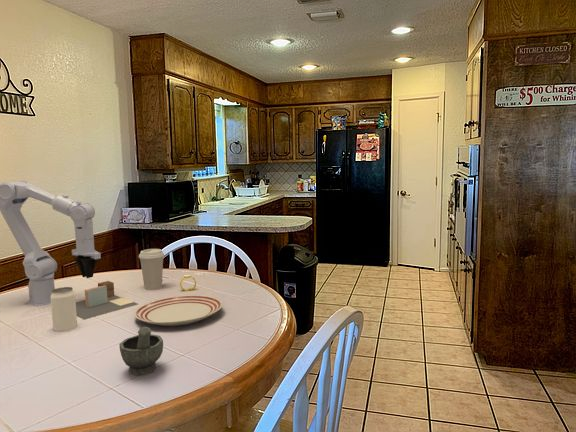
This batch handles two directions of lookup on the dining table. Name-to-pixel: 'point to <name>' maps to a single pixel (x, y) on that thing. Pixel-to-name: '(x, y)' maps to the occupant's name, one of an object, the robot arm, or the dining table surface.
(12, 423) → the dining table surface
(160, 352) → the mortar and pestle
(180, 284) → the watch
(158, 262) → the coffee cup
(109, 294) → the block
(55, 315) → the can
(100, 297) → the tile
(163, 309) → the dinner plate
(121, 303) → the mat
